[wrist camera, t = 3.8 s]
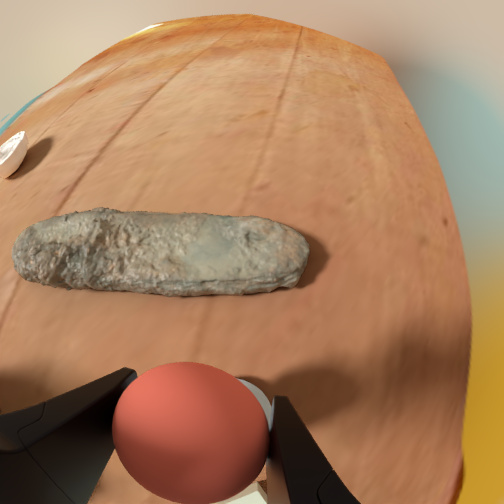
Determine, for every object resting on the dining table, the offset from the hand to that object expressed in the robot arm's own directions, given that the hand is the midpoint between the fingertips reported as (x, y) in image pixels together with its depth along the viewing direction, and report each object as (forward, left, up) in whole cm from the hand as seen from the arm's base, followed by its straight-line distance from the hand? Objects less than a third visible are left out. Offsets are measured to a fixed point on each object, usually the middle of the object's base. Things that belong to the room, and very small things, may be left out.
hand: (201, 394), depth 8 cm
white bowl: (+52, +24, -14) cm, 59 cm away
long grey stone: (+16, +3, -14) cm, 22 cm away
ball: (-1, +1, +1) cm, 2 cm away
